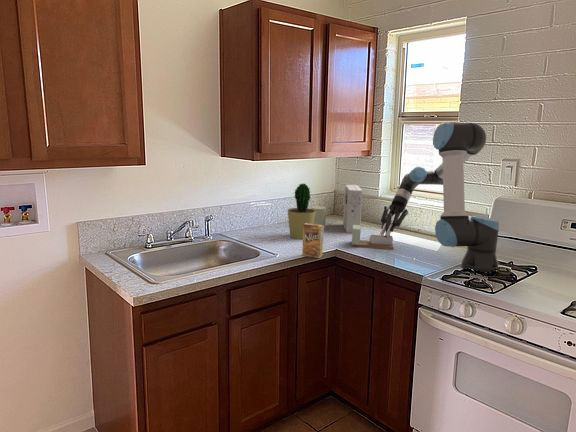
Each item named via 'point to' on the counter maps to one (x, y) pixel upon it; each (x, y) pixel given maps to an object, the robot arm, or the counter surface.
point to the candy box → (312, 240)
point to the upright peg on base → (386, 224)
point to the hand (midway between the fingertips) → (384, 235)
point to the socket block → (356, 234)
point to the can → (319, 215)
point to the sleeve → (381, 240)
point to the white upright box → (352, 207)
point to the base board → (372, 245)
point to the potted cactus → (300, 212)
